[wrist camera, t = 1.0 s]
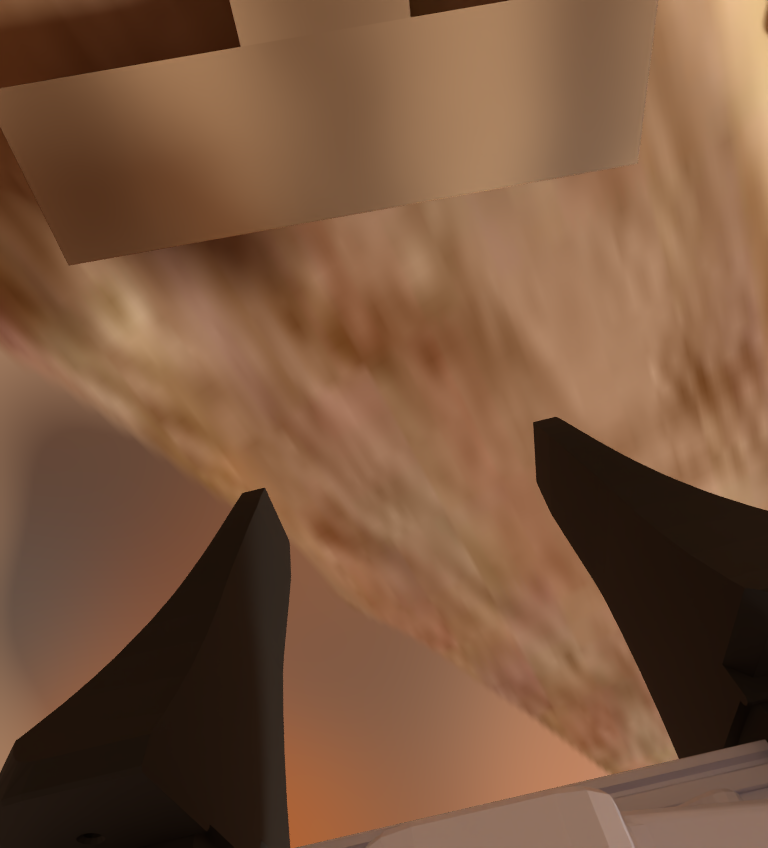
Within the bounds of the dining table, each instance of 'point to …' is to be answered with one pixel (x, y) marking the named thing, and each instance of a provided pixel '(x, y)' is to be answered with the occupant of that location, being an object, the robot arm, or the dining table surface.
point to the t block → (331, 118)
